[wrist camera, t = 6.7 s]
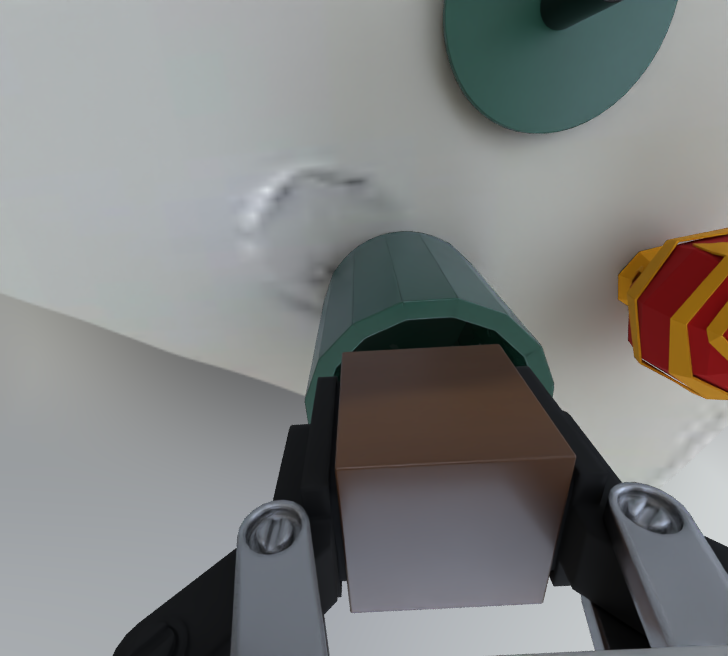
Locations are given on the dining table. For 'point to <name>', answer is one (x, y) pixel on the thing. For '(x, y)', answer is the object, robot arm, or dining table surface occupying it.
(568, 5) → the green disc with handle
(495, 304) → the green tube
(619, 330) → the dining table surface
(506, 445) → the block
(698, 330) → the potion bottle
